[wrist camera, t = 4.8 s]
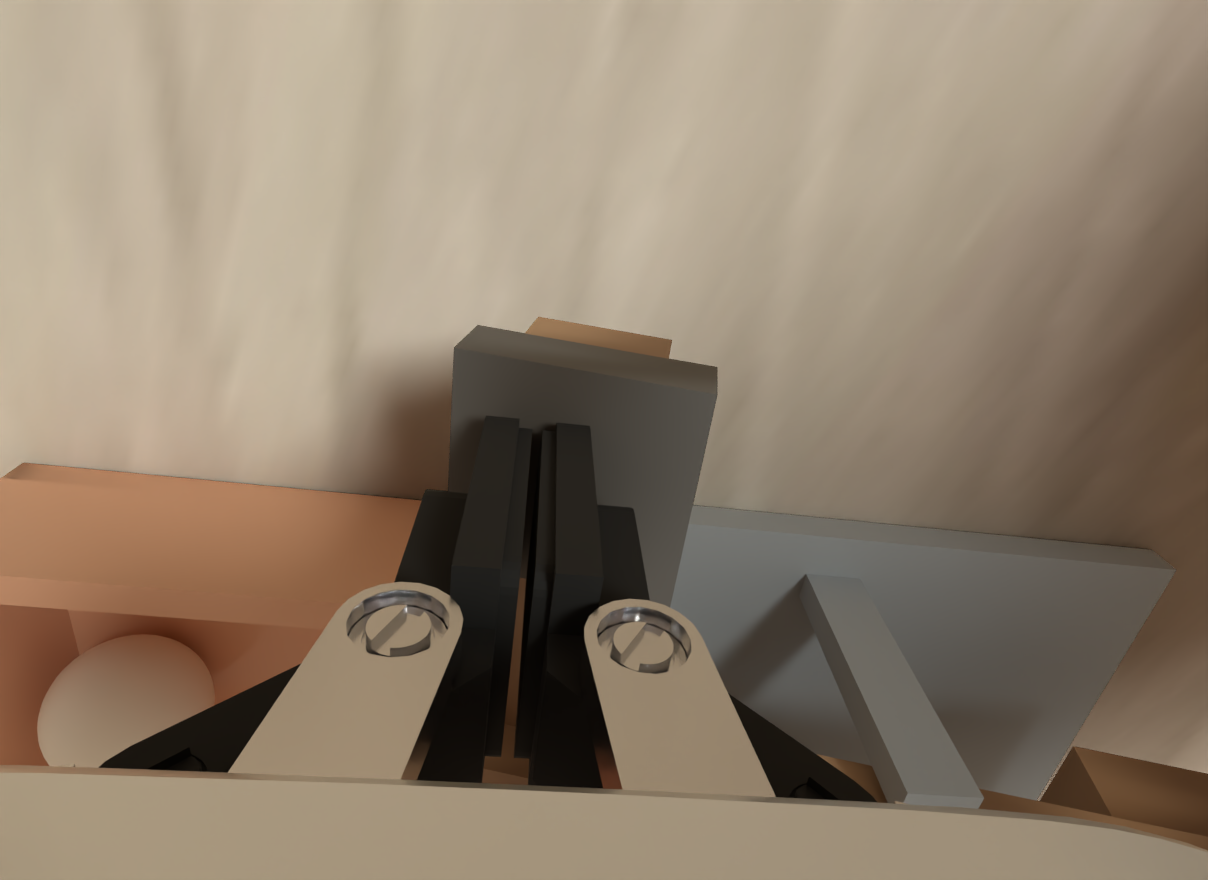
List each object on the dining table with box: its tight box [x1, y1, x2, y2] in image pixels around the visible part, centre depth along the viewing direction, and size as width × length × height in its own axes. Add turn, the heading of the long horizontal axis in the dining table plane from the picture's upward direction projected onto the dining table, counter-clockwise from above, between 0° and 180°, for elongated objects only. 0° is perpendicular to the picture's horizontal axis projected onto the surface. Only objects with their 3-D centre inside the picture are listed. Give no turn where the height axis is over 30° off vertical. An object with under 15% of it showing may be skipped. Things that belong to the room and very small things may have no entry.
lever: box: [448, 317, 1208, 850], centre depth 16 cm, size 20×17×6 cm
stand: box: [670, 505, 1176, 809], centre depth 20 cm, size 20×13×8 cm, turn 82°
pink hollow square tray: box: [0, 463, 422, 766], centre depth 20 cm, size 12×12×4 cm
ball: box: [37, 634, 215, 768], centre depth 19 cm, size 4×4×4 cm
